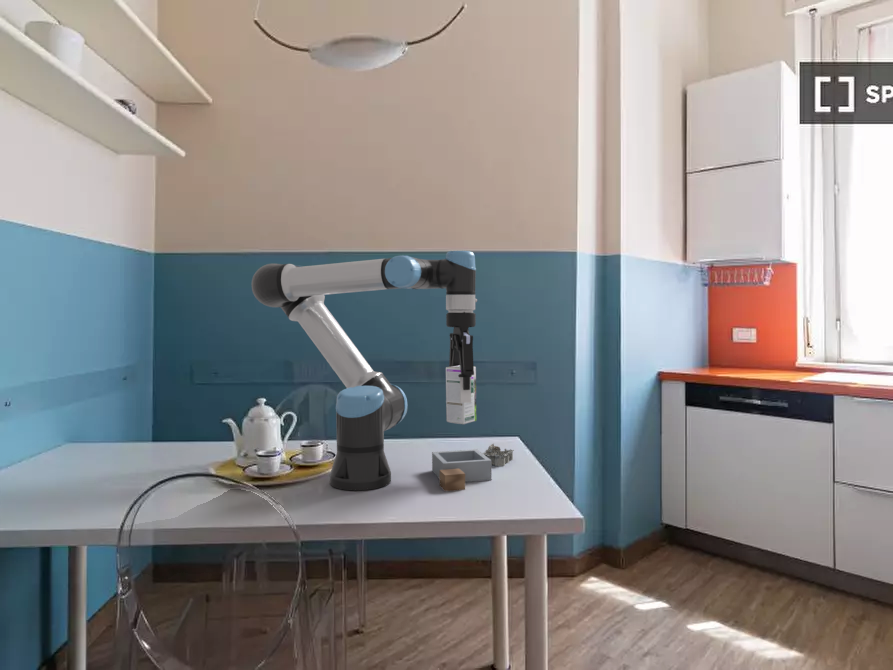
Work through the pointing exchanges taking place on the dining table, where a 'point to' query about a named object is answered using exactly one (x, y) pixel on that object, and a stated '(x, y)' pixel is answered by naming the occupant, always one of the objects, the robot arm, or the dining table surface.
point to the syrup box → (454, 408)
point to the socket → (463, 463)
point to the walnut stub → (452, 479)
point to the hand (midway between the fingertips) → (461, 400)
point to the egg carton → (498, 455)
